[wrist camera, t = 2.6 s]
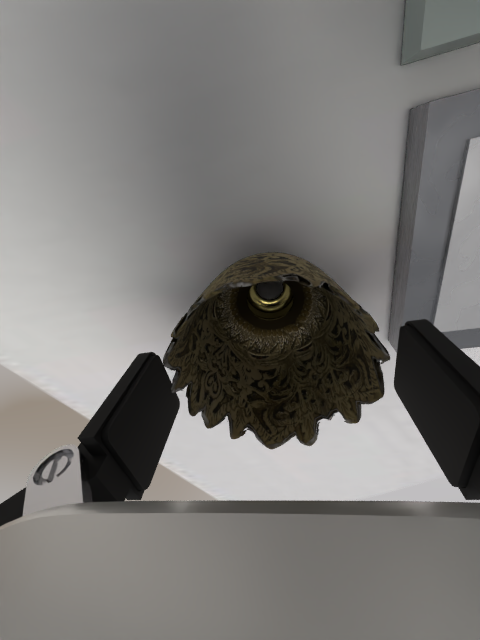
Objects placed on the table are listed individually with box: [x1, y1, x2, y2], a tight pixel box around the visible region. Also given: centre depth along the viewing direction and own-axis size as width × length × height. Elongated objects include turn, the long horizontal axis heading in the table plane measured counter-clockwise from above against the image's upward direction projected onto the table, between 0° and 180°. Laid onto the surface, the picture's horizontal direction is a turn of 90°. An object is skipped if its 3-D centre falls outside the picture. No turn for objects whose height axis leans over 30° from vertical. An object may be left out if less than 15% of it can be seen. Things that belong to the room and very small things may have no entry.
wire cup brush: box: [163, 252, 390, 449], centre depth 12 cm, size 8×7×8 cm
